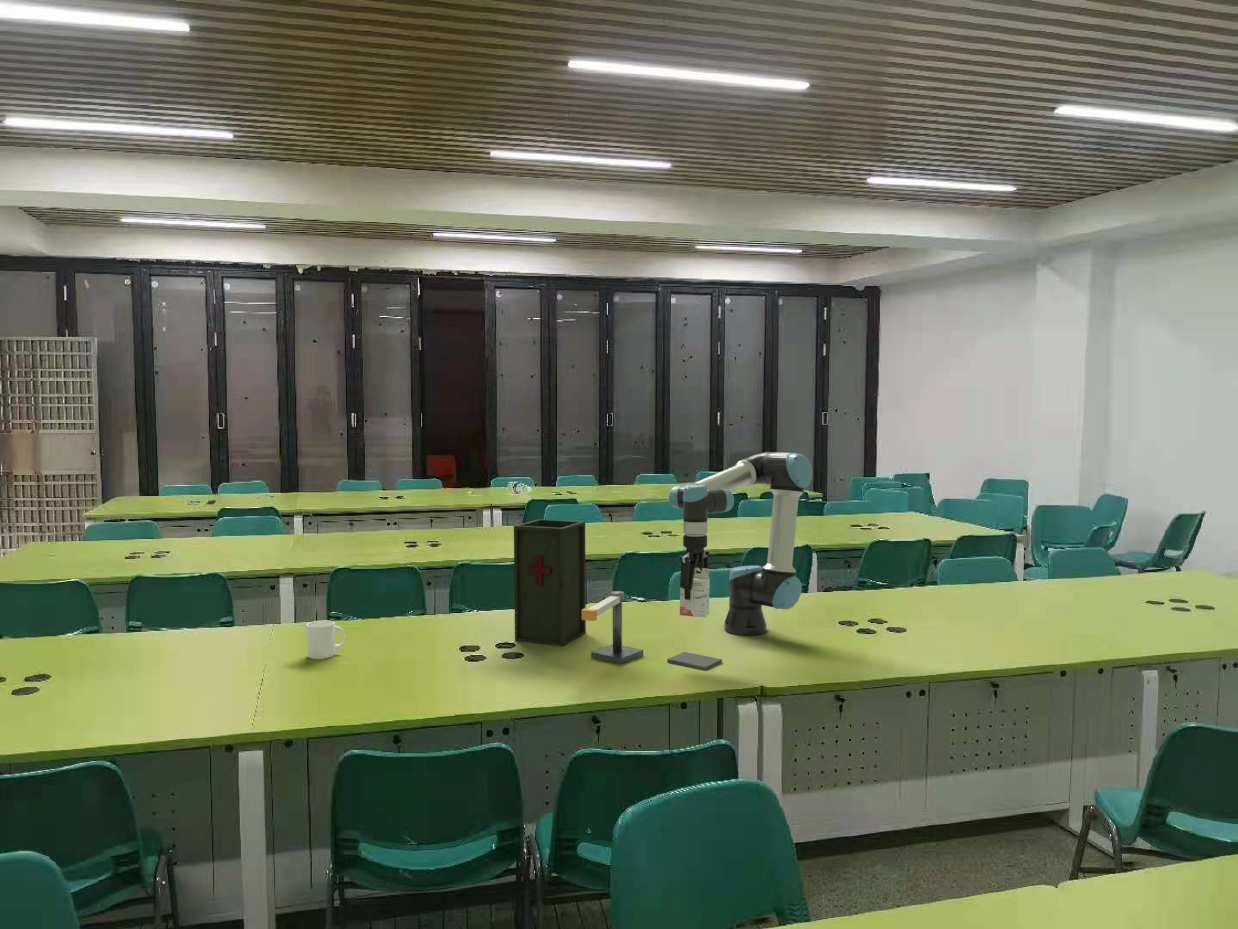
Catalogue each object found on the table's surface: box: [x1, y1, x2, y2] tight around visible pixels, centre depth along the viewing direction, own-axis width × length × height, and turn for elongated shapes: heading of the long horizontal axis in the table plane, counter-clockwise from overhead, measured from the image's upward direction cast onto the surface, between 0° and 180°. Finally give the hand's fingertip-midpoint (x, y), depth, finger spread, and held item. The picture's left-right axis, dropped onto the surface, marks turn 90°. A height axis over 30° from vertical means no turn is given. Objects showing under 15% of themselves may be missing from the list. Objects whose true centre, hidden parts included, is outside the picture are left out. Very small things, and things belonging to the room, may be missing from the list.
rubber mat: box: [667, 651, 723, 671], centre depth 271 cm, size 10×14×1 cm
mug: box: [305, 619, 346, 660], centre depth 279 cm, size 9×12×11 cm
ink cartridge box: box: [679, 568, 711, 618], centre depth 270 cm, size 9×5×15 cm, turn 70°
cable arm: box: [582, 590, 625, 622], centre depth 265 cm, size 27×4×3 cm, turn 159°
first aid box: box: [513, 518, 587, 648], centre depth 300 cm, size 18×18×40 cm
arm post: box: [590, 601, 644, 666], centre depth 277 cm, size 12×12×18 cm
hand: (694, 607), depth 270 cm, fingers closed on ink cartridge box, 6 cm apart
